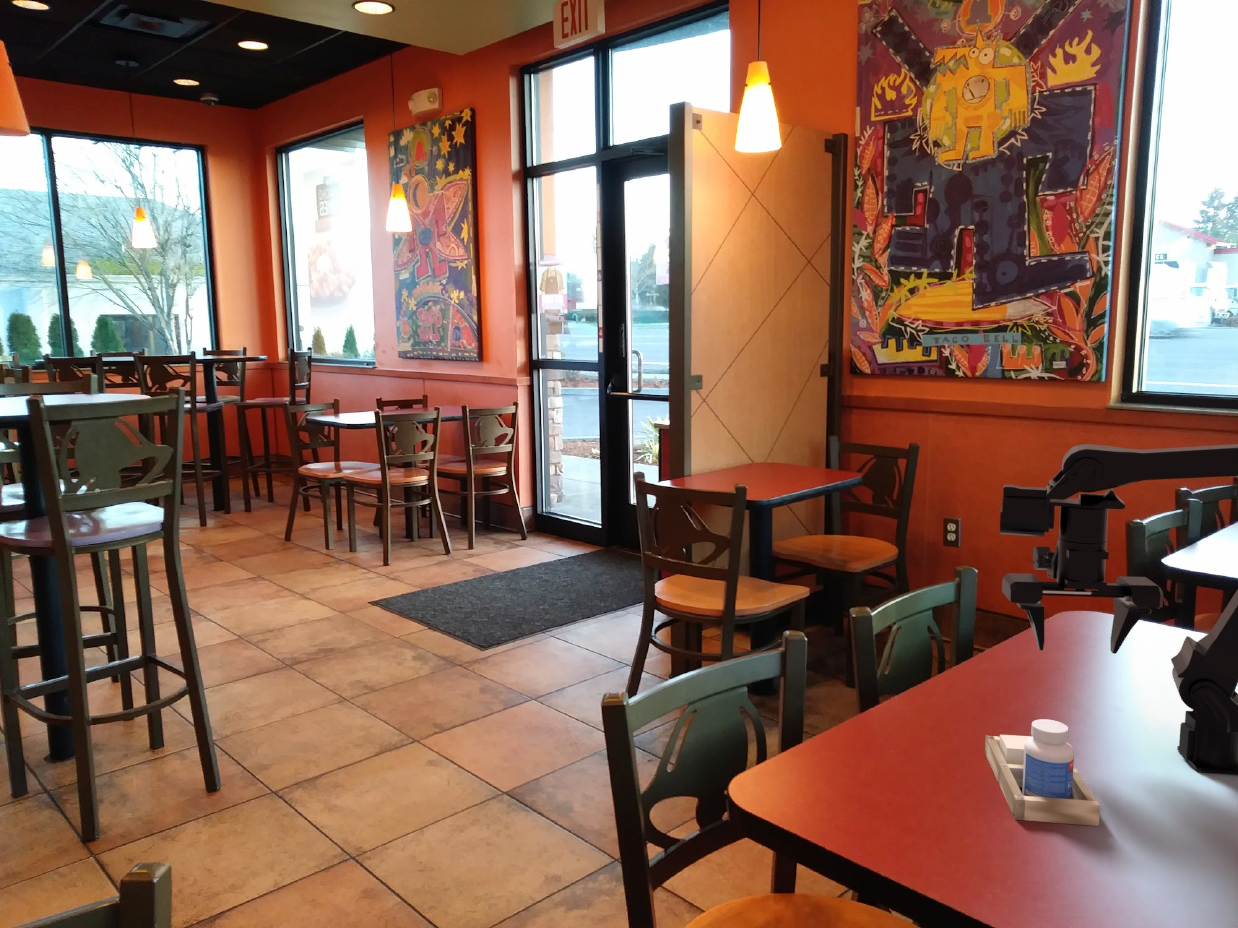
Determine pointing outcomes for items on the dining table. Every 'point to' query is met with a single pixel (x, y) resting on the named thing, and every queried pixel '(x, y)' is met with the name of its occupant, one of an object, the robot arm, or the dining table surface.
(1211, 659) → the robot arm
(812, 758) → the dining table surface
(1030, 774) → the pill bottle
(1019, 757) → the cream block
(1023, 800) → the caddy
